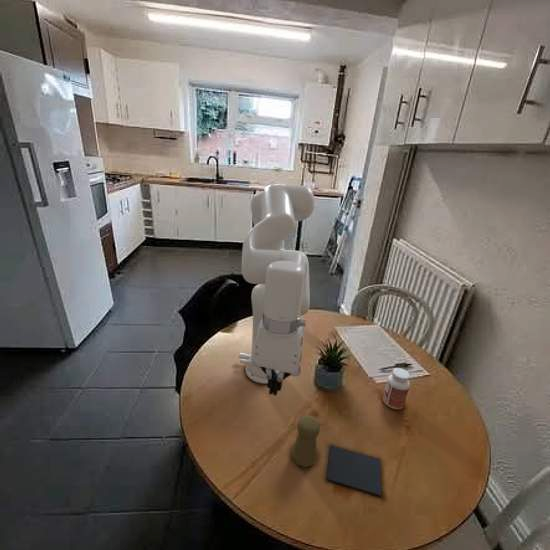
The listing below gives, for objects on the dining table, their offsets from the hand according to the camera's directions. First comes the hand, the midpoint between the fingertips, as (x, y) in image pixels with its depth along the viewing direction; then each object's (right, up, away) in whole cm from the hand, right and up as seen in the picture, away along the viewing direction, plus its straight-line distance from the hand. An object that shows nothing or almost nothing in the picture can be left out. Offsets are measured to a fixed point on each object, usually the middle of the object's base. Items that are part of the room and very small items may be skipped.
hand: (274, 390), depth 70 cm
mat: (+19, -20, +3) cm, 27 cm away
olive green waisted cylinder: (+7, -18, +5) cm, 20 cm away
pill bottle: (+36, -13, +24) cm, 45 cm away
